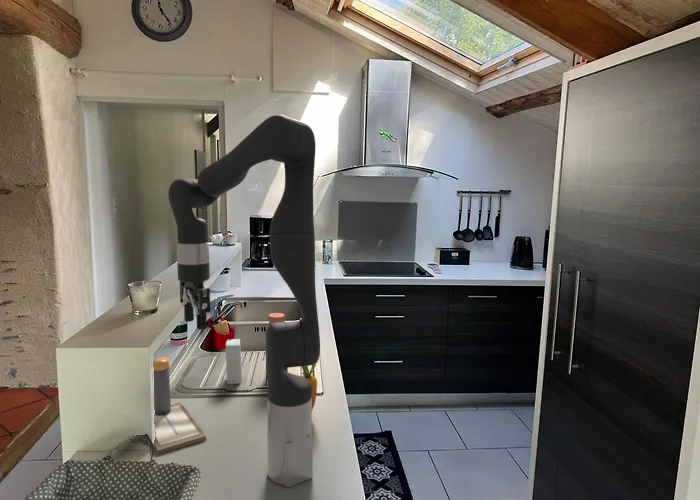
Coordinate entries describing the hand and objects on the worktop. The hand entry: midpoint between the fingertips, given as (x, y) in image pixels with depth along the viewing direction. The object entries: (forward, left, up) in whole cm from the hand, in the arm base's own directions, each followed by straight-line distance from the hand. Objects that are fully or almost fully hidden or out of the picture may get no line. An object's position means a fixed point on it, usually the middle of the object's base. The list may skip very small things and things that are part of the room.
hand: (195, 324), depth 120 cm
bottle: (+12, -29, -25) cm, 40 cm away
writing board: (-1, +7, -25) cm, 26 cm away
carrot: (-15, -24, -25) cm, 38 cm away
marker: (+6, +7, -24) cm, 26 cm away
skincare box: (+17, -17, -25) cm, 35 cm away
